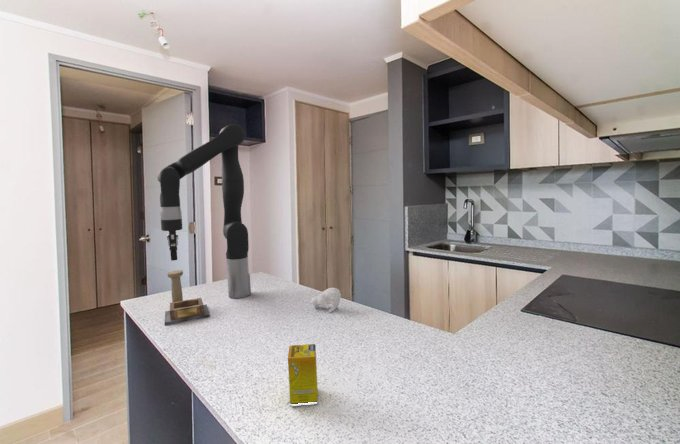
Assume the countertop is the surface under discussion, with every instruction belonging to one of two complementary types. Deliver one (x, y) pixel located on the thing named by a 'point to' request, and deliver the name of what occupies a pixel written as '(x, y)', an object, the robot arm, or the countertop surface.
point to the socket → (186, 311)
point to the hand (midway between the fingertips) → (174, 258)
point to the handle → (176, 285)
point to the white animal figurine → (327, 299)
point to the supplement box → (302, 373)
